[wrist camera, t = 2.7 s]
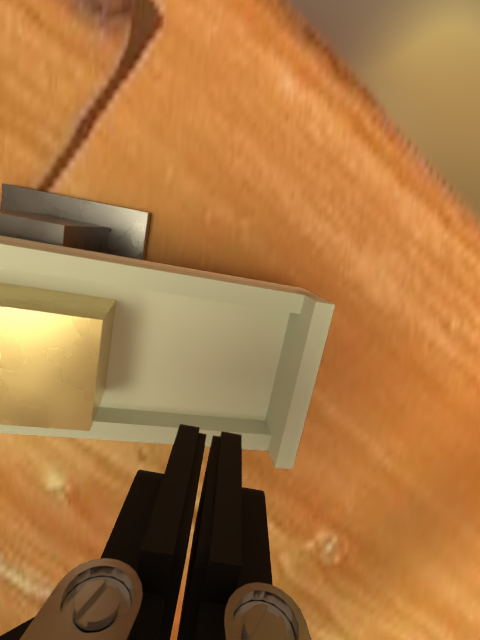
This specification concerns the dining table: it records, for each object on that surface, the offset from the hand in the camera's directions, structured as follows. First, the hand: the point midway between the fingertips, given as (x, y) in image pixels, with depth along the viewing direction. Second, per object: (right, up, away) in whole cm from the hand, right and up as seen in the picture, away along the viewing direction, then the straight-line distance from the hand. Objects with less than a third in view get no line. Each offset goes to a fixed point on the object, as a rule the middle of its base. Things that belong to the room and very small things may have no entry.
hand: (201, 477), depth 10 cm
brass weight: (-10, +3, +8) cm, 13 cm away
